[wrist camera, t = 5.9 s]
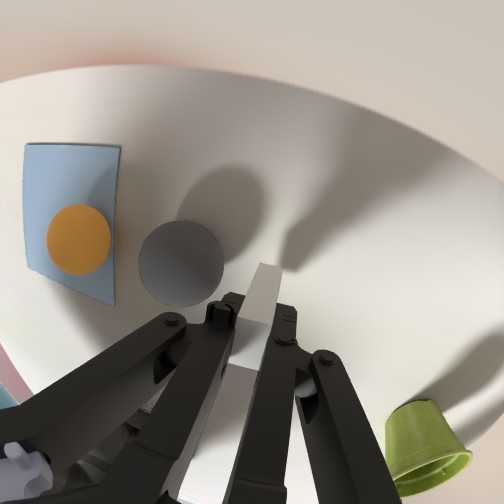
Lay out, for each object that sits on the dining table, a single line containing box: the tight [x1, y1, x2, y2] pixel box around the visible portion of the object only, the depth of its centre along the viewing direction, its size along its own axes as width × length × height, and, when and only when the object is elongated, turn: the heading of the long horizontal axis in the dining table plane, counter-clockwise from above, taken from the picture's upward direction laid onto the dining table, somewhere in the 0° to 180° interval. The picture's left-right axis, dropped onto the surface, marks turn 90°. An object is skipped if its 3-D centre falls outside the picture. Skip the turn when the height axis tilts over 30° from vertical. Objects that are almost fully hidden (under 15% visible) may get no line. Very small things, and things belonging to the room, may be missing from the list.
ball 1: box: [46, 204, 111, 275], centre depth 19 cm, size 6×6×6 cm
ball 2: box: [139, 221, 224, 307], centre depth 17 cm, size 6×6×6 cm
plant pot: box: [385, 400, 473, 499], centre depth 18 cm, size 9×9×9 cm
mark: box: [23, 145, 120, 307], centre depth 22 cm, size 14×14×1 cm
